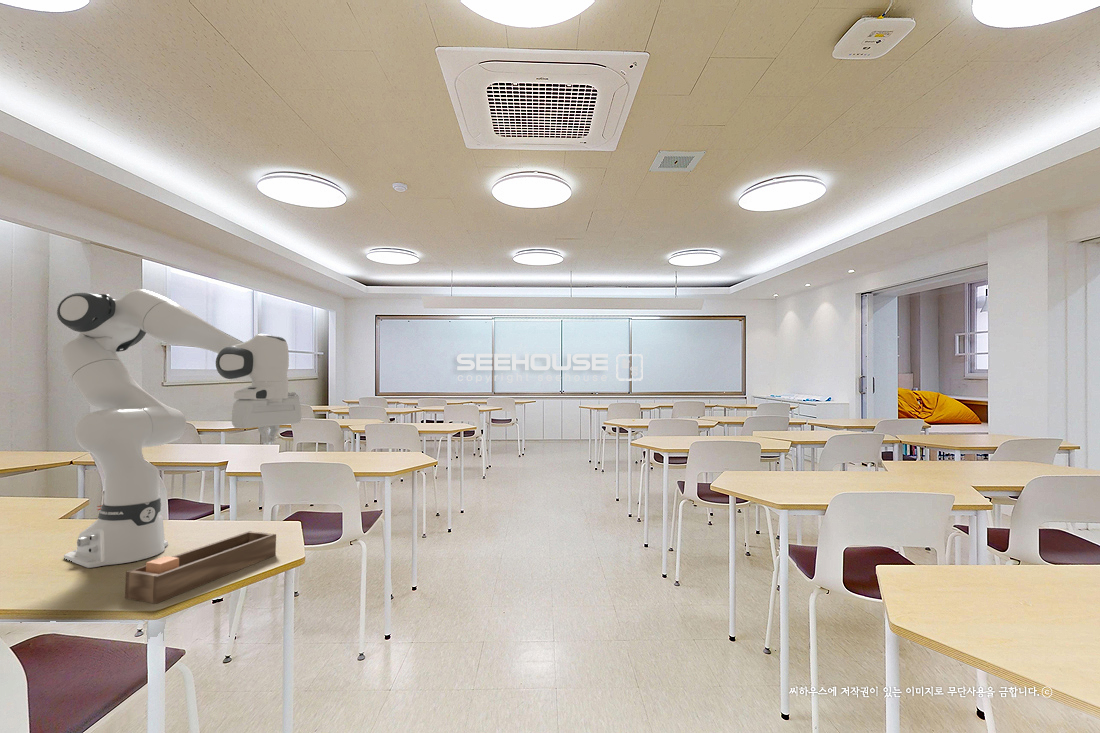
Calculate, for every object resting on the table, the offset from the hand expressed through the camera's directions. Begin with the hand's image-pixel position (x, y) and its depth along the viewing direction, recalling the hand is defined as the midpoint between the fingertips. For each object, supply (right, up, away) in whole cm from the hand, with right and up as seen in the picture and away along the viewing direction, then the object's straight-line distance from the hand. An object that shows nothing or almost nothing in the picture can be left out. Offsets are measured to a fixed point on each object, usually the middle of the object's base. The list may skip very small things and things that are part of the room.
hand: (268, 442), depth 135 cm
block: (-6, -25, -29) cm, 39 cm away
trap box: (-3, -28, -19) cm, 34 cm away
